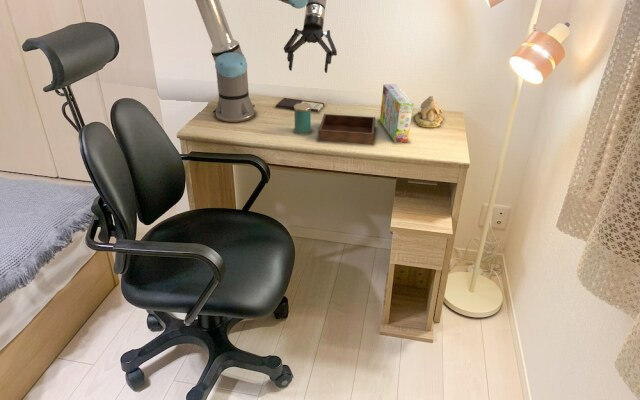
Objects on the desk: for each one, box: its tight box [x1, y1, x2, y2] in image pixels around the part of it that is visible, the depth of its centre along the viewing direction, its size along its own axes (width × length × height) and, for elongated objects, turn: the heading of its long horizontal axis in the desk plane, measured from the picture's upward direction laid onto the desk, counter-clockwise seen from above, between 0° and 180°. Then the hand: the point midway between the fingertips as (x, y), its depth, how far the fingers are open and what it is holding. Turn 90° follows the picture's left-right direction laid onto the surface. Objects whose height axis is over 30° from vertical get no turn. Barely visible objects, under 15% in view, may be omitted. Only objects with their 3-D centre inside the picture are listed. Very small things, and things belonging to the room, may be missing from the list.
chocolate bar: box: [275, 97, 325, 113], centre depth 201 cm, size 9×1×18 cm
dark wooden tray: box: [318, 113, 376, 145], centre depth 177 cm, size 20×16×4 cm
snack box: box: [379, 83, 414, 143], centre depth 177 cm, size 21×6×15 cm, turn 9°
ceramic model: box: [414, 95, 444, 128], centre depth 187 cm, size 14×11×10 cm
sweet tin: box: [293, 103, 312, 135], centre depth 177 cm, size 6×6×10 cm
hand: (307, 70), depth 180 cm, fingers open, 13 cm apart
